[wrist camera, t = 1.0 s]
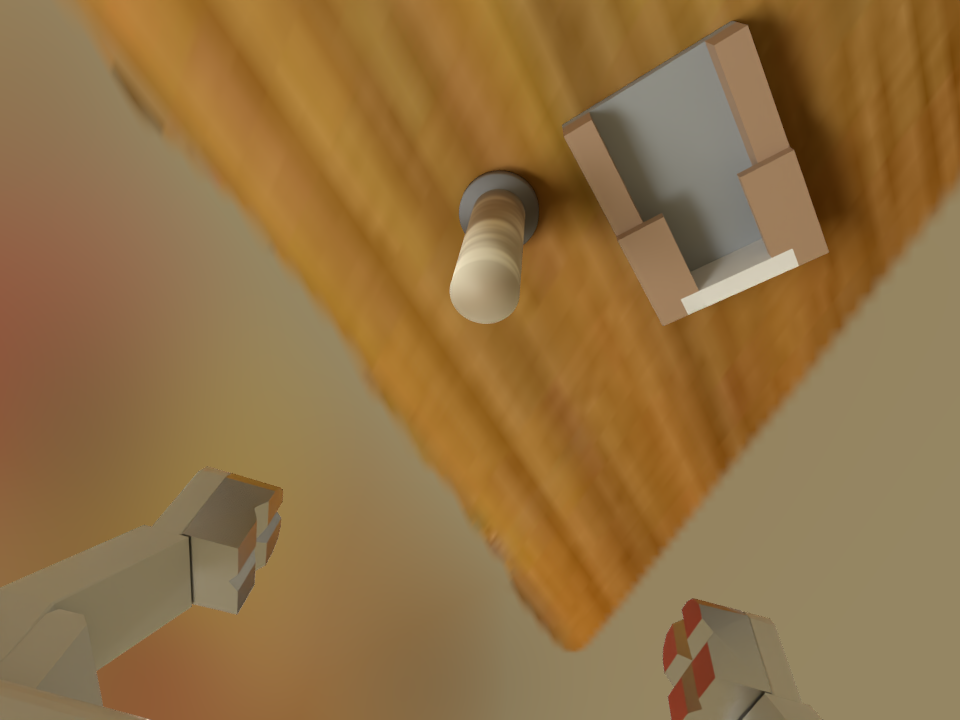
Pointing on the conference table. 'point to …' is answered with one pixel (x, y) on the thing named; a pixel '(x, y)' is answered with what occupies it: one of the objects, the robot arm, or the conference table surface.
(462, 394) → the conference table surface
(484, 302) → the beige tall cylinder
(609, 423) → the conference table surface
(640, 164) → the keyhole dock
